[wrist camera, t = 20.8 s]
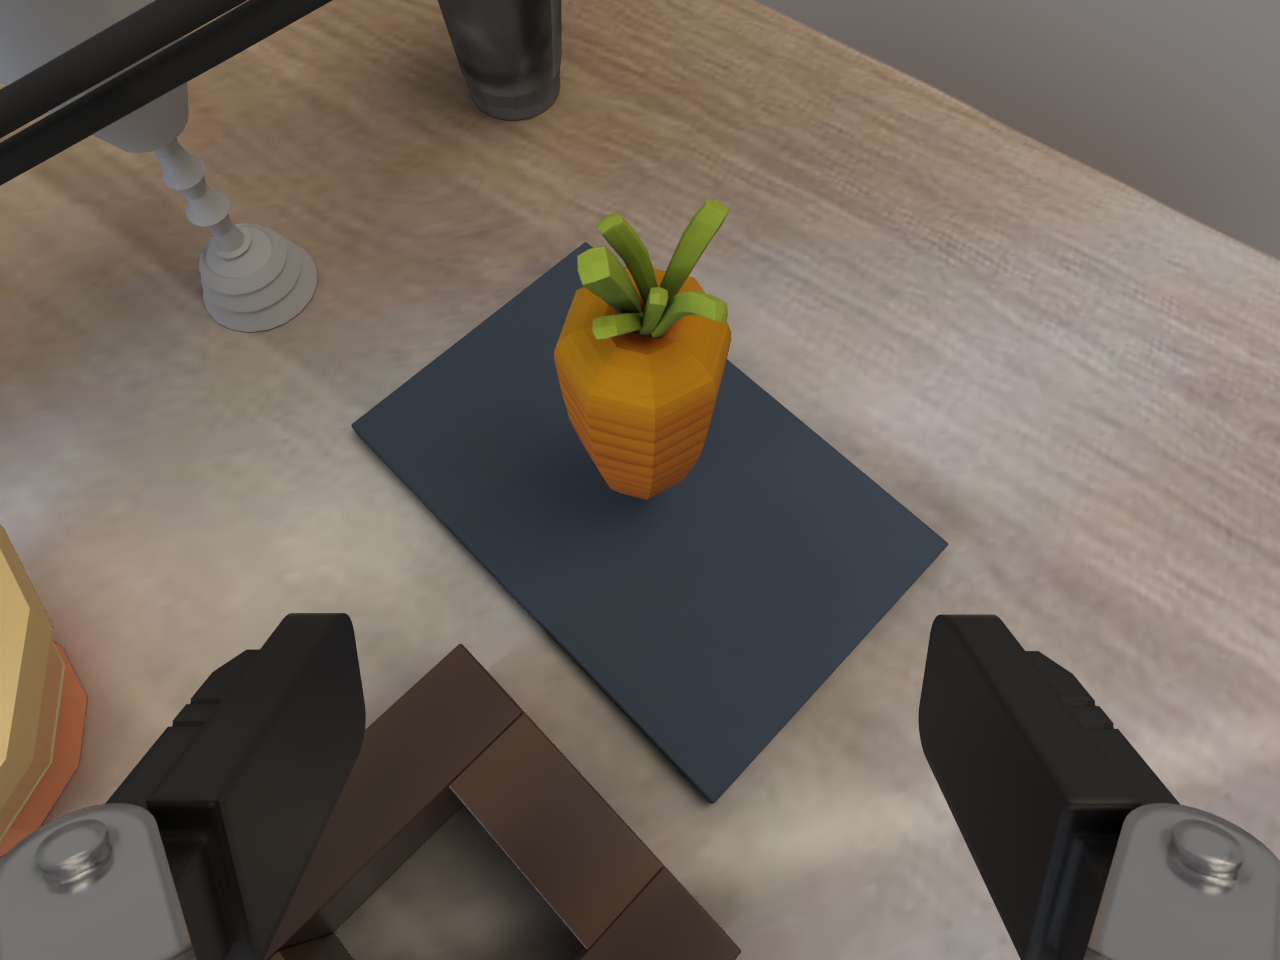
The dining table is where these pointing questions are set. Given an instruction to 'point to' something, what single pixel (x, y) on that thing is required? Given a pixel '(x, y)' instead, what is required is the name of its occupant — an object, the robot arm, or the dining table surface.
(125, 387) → the dining table surface
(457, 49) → the beverage cup
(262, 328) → the chalice
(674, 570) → the mat
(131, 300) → the dining table surface
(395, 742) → the stand
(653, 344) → the carrot
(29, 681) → the potted cactus
